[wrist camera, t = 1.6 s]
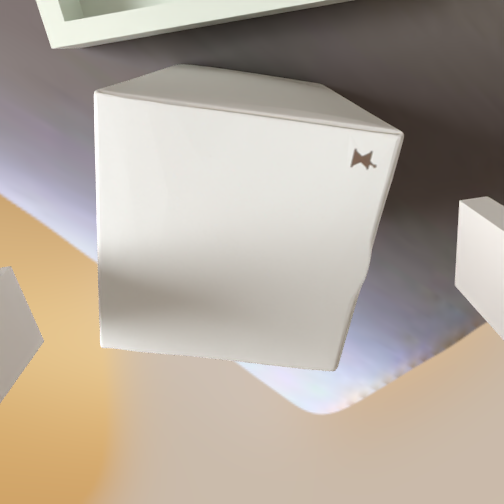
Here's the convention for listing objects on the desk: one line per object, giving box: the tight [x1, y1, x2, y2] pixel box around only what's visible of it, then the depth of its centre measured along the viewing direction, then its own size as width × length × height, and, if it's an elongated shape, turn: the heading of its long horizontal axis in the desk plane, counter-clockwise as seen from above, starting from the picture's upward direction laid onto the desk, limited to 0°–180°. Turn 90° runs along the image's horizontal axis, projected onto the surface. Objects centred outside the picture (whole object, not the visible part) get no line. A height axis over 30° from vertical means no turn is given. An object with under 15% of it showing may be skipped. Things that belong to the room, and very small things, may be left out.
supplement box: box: [94, 64, 404, 371], centre depth 20 cm, size 9×9×15 cm
